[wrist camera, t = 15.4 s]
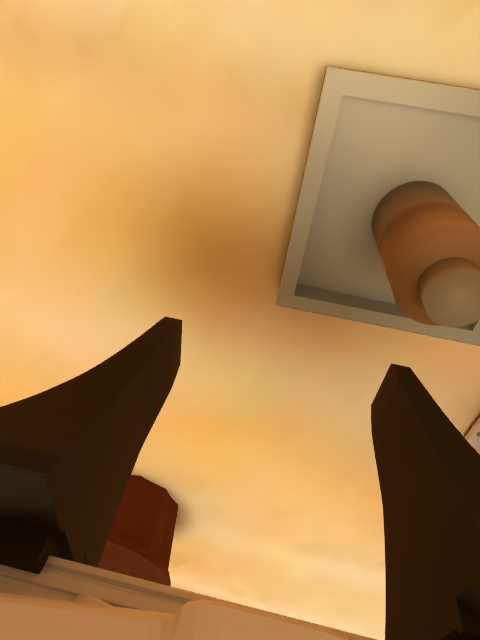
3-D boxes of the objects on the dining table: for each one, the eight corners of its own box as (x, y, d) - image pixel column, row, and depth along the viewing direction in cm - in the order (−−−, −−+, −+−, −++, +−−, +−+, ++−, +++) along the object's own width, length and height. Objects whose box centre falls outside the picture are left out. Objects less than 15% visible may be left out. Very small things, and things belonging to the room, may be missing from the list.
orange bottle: (438, 258, 19) (495, 351, 13) (364, 251, 19) (387, 339, 14) (466, 183, 17) (547, 256, 11) (382, 177, 17) (417, 245, 11)
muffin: (61, 480, 40) (-6, 590, 32) (128, 450, 34) (69, 572, 26) (143, 538, 44) (102, 647, 36) (214, 518, 39) (185, 642, 31)
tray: (468, 324, 22) (480, 346, 20) (279, 286, 22) (276, 304, 21) (596, 107, 15) (629, 114, 14) (327, 65, 16) (327, 66, 14)
